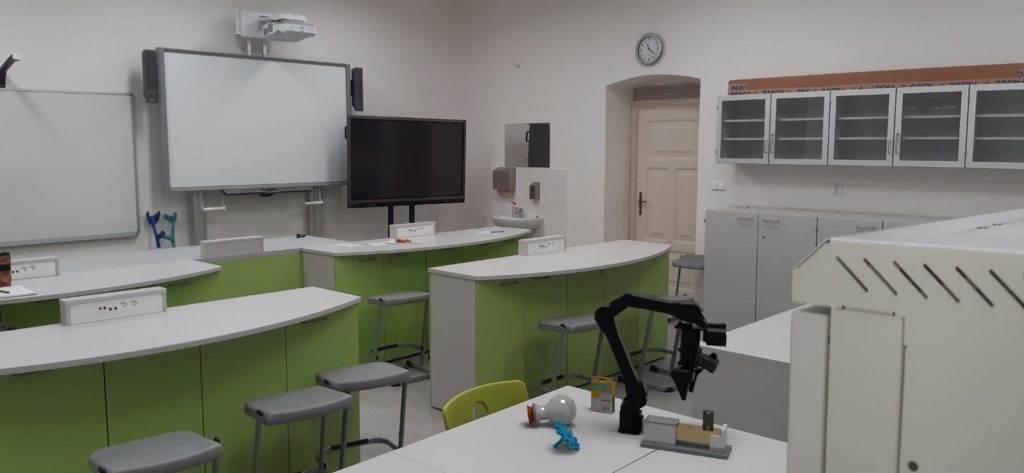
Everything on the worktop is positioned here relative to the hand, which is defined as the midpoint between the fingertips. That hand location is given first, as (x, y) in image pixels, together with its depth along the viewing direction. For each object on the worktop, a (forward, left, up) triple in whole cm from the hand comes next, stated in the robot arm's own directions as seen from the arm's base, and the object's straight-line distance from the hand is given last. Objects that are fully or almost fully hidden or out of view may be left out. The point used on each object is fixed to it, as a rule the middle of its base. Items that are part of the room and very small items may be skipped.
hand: (687, 396), depth 233 cm
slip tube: (+4, -11, -9) cm, 15 cm away
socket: (+11, -11, -12) cm, 19 cm away
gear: (-29, -25, -12) cm, 40 cm away
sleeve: (-5, -11, -12) cm, 17 cm away
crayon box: (-29, +12, -12) cm, 34 cm away
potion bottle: (-39, -8, -12) cm, 42 cm away
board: (+2, -11, -12) cm, 16 cm away
